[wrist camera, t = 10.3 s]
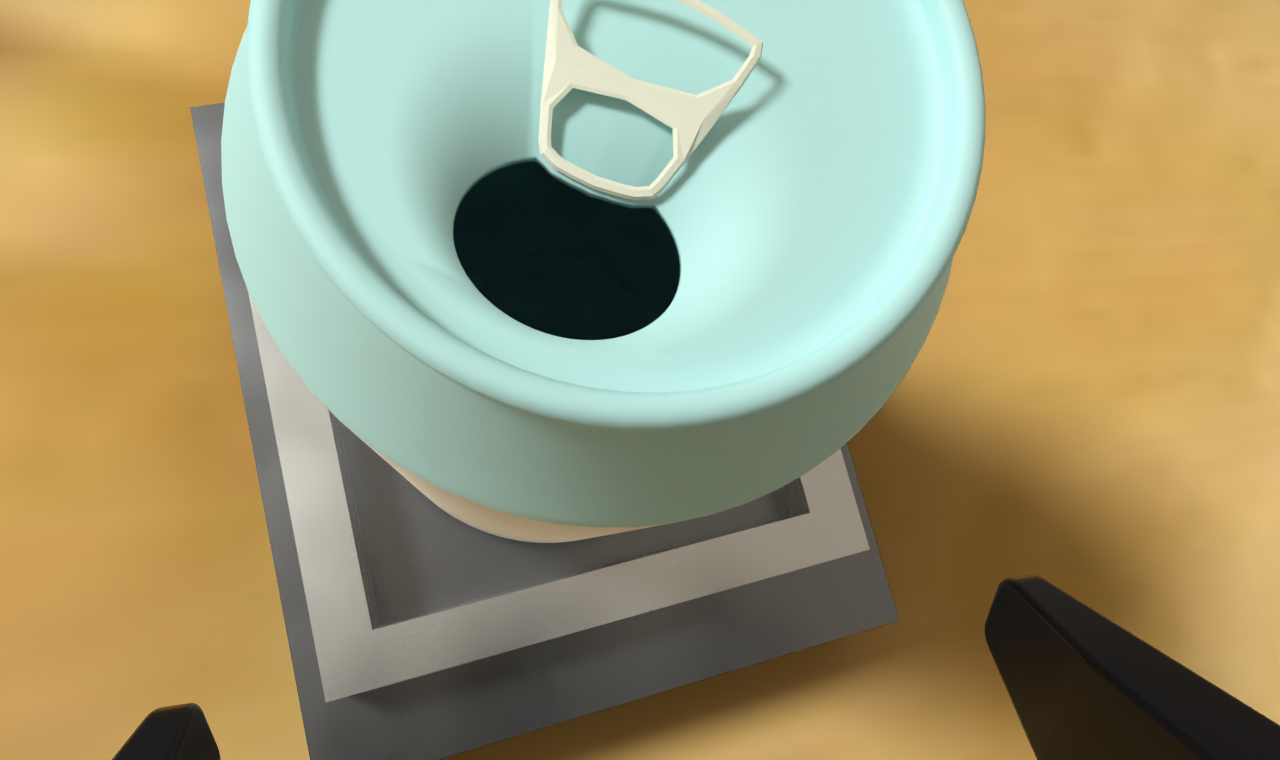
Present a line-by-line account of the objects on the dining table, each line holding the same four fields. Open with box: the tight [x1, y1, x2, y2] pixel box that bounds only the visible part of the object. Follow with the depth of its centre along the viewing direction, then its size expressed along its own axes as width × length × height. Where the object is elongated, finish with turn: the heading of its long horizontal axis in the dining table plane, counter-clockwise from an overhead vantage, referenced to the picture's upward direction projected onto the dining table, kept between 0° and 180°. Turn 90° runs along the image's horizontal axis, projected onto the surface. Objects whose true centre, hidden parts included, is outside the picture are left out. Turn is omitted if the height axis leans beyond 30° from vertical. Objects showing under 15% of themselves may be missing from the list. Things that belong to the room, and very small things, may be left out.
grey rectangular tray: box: [190, 103, 899, 760], centre depth 19 cm, size 14×12×4 cm
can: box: [221, 0, 985, 543], centre depth 12 cm, size 7×7×12 cm
